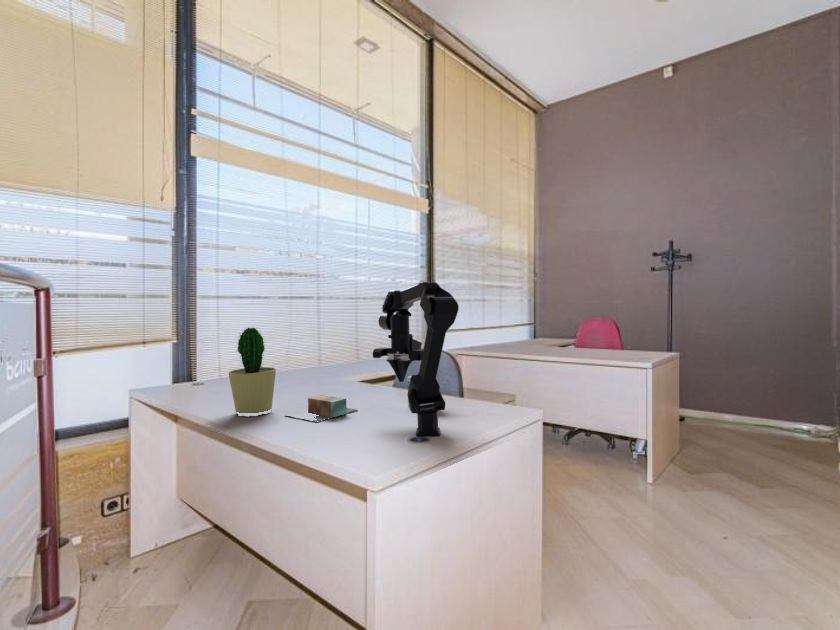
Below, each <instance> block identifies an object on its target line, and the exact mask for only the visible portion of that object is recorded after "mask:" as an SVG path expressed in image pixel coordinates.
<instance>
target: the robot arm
mask: <svg viewBox="0 0 840 630" xmlns="http://www.w3.org/2000/svg"><path fill="white" fill-rule="evenodd" d="M387 292H388V293H387V294H386V296H385V299H384V302H383V304H382V307H381V309H382V311H381V312H382V314H381V315H380V316H379V318H378V325H379V327H380V328H381V329H382V330H385V331H390V334H388V335H387V337H388V339H390V344H391V345H390V347H378V348H374V349H373V350H372V358H373V359H381V358H382V357H387V359H386V362H388V363H389V365H390V367H391V368H392V369H393V372H394V374H395V375H396V377H397V380H398V381H399V382H400V383H403V382H404V381H405V379H406V375H407V372H408V369H409V367H410V365H411V363H412V362H414V361H416V362H417V361H418V362H419V361H420V366H419V371H418V373H417V374H414V375H410V376H411V378H410V384H409V387H408V386H407V402H408V401H409V406H408V407H409V411H410V412H411V414H416V416H417V417H416V418H417V427H416V431H415V436H417V437H423V436H424V437H425V436H427V437H428V436H429V437H431V436H433V437H434V436H435V437H436V436H440V435H441V431H440V430H441V428H440V427H439V411H445V409H446V401H445V399H444V397H443V394H442V393H441V391H440V390H441V386H440V384H439V380H438V381H437V379H436V378H437V376H438V371H439V366H440V362H441V357H442V354H443V353H442V351H443V348H444V343H445V339H446V334H447V331H448V330H449V329H450V328H451V327H452V325H454V324H455V322H456V320H457V319H456V318H457V316H458V313H459V303H458V301H456V299H455V298H454V296H453V294H451V293H450V292H448V291H447V290H446V289H444V288H442V287H441V285H439V284H438V283H437V282H435V281H421V282H418V284H415V285H413V286H410V287H408V288H405V289H403V290H389V291H387ZM418 301H419V306H420V308H421V309H422V311H423V318H424V321H425V323H426V325H427V330H426V335H425V340H424V346H423V348H422V345H423V342H421V341H419V340H417V339H414V337H413V336H414V335H413V334H412V333H410V317H412V312H410V311H409V310H410V308H412V307H413V306H414V303H415V302H418ZM408 388H409V390H408ZM429 403H434V404H429ZM422 404H428V405H422ZM420 405H421V406H420Z"/></svg>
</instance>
